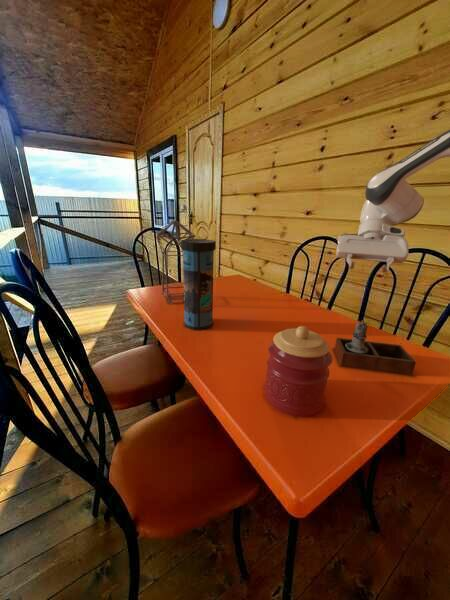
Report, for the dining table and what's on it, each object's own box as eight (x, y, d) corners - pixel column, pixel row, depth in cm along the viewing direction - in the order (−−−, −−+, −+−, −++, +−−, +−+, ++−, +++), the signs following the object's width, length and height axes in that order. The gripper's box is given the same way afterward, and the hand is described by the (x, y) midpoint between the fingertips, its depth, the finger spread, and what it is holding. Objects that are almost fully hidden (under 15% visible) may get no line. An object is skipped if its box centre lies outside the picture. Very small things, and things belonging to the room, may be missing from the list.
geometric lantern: (196, 306, 110) (196, 222, 98) (159, 308, 107) (154, 221, 95) (192, 295, 125) (191, 220, 113) (159, 296, 121) (155, 219, 109)
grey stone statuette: (369, 360, 72) (379, 321, 68) (358, 366, 69) (368, 326, 65) (350, 351, 76) (358, 314, 72) (338, 356, 73) (346, 318, 69)
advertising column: (191, 334, 85) (190, 243, 75) (178, 322, 94) (175, 239, 84) (219, 327, 90) (222, 242, 81) (205, 316, 99) (205, 238, 89)
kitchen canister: (280, 373, 66) (288, 310, 60) (331, 395, 58) (345, 326, 53) (252, 399, 57) (258, 327, 51) (309, 430, 49) (323, 350, 43)
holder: (396, 358, 75) (400, 344, 73) (411, 377, 66) (416, 362, 65) (334, 350, 78) (336, 337, 76) (340, 367, 69) (343, 352, 68)
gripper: (339, 227, 86) (333, 260, 81) (411, 230, 78) (409, 267, 73) (337, 239, 91) (331, 271, 86) (404, 243, 83) (402, 278, 78)
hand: (367, 269), depth 80 cm, fingers open, 8 cm apart
